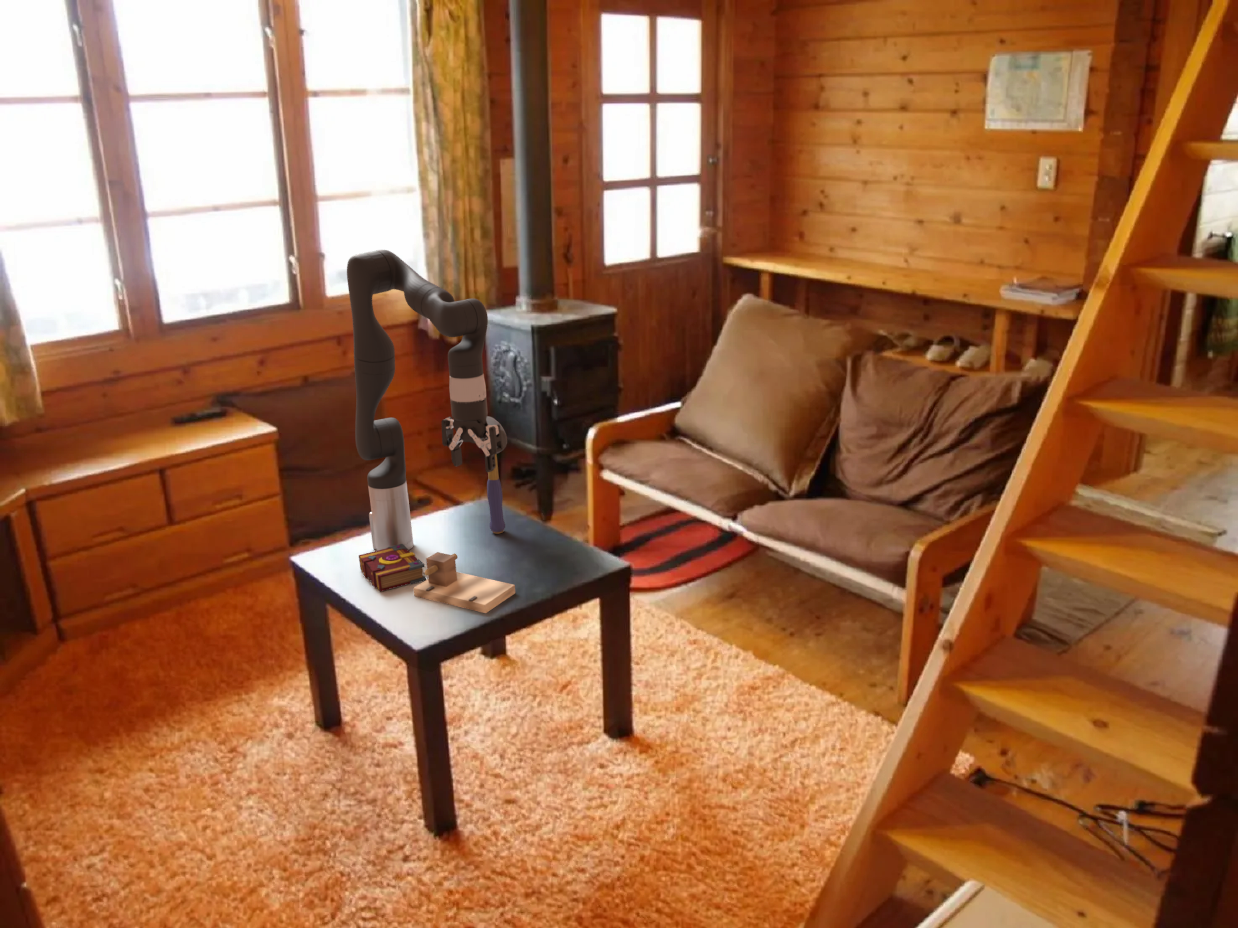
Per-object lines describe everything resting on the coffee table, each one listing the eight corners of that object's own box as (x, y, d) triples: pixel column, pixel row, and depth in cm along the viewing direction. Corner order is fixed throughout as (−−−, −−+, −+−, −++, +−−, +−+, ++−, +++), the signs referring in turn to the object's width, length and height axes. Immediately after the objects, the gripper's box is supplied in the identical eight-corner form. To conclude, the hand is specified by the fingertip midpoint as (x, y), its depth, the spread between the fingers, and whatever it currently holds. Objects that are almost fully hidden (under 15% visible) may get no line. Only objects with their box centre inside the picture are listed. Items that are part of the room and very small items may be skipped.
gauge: (420, 588, 234) (417, 563, 232) (448, 571, 242) (445, 547, 240) (437, 592, 231) (434, 567, 230) (465, 574, 240) (463, 550, 238)
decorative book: (379, 594, 237) (377, 574, 236) (357, 570, 250) (355, 551, 249) (426, 581, 242) (424, 561, 241) (403, 558, 256) (400, 539, 254)
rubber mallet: (517, 538, 264) (508, 425, 254) (487, 543, 262) (477, 428, 252) (507, 521, 275) (498, 412, 266) (479, 526, 273) (469, 415, 264)
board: (414, 595, 235) (413, 586, 234) (445, 577, 244) (444, 568, 243) (485, 613, 225) (484, 603, 224) (515, 592, 234) (514, 583, 233)
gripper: (430, 396, 219) (436, 469, 225) (485, 404, 212) (490, 478, 218) (452, 387, 225) (458, 458, 231) (506, 394, 219) (511, 467, 224)
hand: (474, 468), depth 224 cm, fingers open, 8 cm apart
